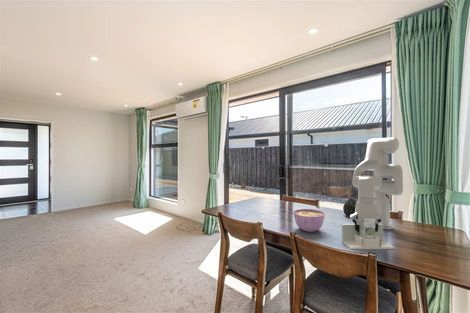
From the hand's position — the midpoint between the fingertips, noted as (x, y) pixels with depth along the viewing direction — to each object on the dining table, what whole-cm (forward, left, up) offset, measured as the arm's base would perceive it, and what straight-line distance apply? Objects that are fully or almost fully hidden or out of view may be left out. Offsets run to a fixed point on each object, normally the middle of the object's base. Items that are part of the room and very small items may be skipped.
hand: (366, 231), depth 122 cm
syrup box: (0, 0, -7) cm, 7 cm away
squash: (-56, +20, -8) cm, 60 cm away
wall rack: (0, 0, -8) cm, 8 cm away
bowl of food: (-25, -24, -8) cm, 35 cm away
